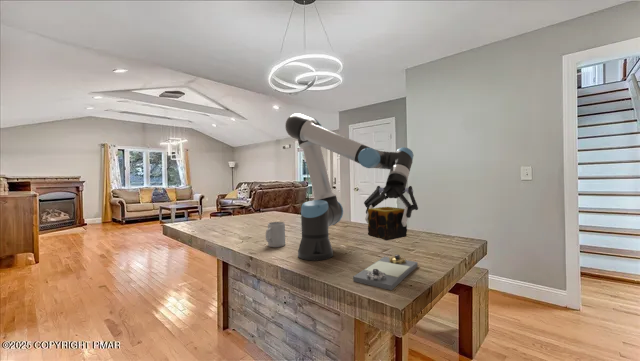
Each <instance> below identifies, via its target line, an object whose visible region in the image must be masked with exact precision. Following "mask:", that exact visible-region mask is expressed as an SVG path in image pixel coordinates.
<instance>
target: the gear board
mask: <svg viewBox="0 0 640 361" xmlns="http://www.w3.org/2000/svg"><path fill="white" fill-rule="evenodd" d="M417 267H418V261H414V260H413V261H412V260H408V259H406V257H402V256H401V255H400V254H394V255H393V256H384V257H382V258H380V259H379V260H377V261H374V262H373V263H372V264H371V265H369V266H368V267H366V268H364V269H362V271H359V272H358V273H356V274H354V275H353V277H352V280H353V282H356V283H359V284H364V285H369V286H372V287H377V288H380V289H385V290H390V291H393V290H394V288H396V286H398V285H399V284H400V283H401V282H402V281H403V280H404V279H405V278H406V277H407V276H409V274H411V273H412V272H413V271H414V270H416V269H417Z"/></svg>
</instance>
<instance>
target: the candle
mask: <svg viewBox="0 0 640 361" xmlns="http://www.w3.org/2000/svg"><path fill="white" fill-rule="evenodd" d="M404 210H405V208H401V207H392V206H381V207H374V208H371V209H368V223H367V235H368V236H369V237H372V238H376V239H380V240H383V241H391V240H397V239H401V238H406V237H407V236H408V234H407V233H408V228H407V227H408V225H407V223H406V227H403V225H402V218H403V214H404Z"/></svg>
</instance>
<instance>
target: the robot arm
mask: <svg viewBox="0 0 640 361" xmlns="http://www.w3.org/2000/svg"><path fill="white" fill-rule="evenodd" d="M285 131H286V133H287V134H288V135H289V136H290V137H291V138H293V139H294V140H295V139H296V140H297V142H298V147H299V148H300V149H302V150H303V153H304V158H305V162H306V165H307V166H306V167H307V171H308V174H309V179H310V183H311V187H312V192H313V194H314V197H313V199H312V200H309V201H305V202H303V203H302V205H301V209H300V214H301V215H300V216H301V225H300V226H301V240H300V243H299V246H298V250H297V256H298V258H299V259H302V260H306V261H324V260H328V259H330V258H332V257H333V256H334V250H333V248H332V243H331V241H330V238H329V227H331V226H335V225H337V224H338V223H339V222H340V221H341V220H342V218H343V215H344V208H343V206H342V204H341V202H339V201H338V199H337V198H338V197H337V194H335V193H333V191H332V187H331V184H330V180H329V174H328V172H327V170H328V169H327V166H326V164H325V159H324V154H323V151H322V148H323V149H326V150H329V151H330V152H333V153H335V154H337V155H340V156H342V157H344V158H346V159H348V160H351V161H353V162H355V163H357V164H359V165H361V166H362V167H364V168H366V169H380V170H388V171H389V173H388V176H387V178H386V182H385V186H384V187H381V186H380V185H377V186H376V189H375V190H374V191H373V192H372V193H371V194H370V195H369V196H368V197H367V199H366V200H364V202H363V204H364V206H365V207H366V209H365V214H366V216H365V219H364V220H365V221H366V223H367V224H368V209H371V208H376V206H378V205H379V204H380V203H382V202H383V201H385V200H388V199H399V200H400V201H401V202H402V203H403V205H405V208H404V209H405V210H404V214H403V218H402V225H403V227H406V224H407V222H408V219H410V218H411V217H412V213H413V211H414V210H415V211H417V210H419V206H418V203H417V202H416V199H415V197H414V190H413V186H412V185H409V186H408V187H407V184H408V179H409V175H410V173H411V172H410V171H411V168H412V165H413V159H414V153H413V150H412V149H410V148H408V147H404V146H402V147H400V148H398V149H396V151H382V150H378V149H376V148H375V149H374V148H372V147H370V146H367V145H365V144H363V143H361V142H358V141H355V140H353V139H351V138H348V137H346V136H344V135H341V134H339V133H336V132H334V131H332V130H329V129H326V128H324V127H323V126H322V124H321V122H320V121H318V120H317V119H316V118H315V117H311V116H307V115H306V114H302V113H293V114H291V115H290V116H289V117H288V118H287V119H286V121H285ZM321 147H322V148H321ZM405 193H407V194H408V195H409V198H410V200H411V203H410V202H409V201H408V198H406V196H405V195H404V194H405Z"/></svg>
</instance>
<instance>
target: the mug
mask: <svg viewBox="0 0 640 361" xmlns="http://www.w3.org/2000/svg"><path fill="white" fill-rule="evenodd" d="M265 240H266V242H267V244H268V247H271V248H281V247H284V246H286V224H285V222H283V221H273V222H268V223H267V229H266V232H265Z"/></svg>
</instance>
